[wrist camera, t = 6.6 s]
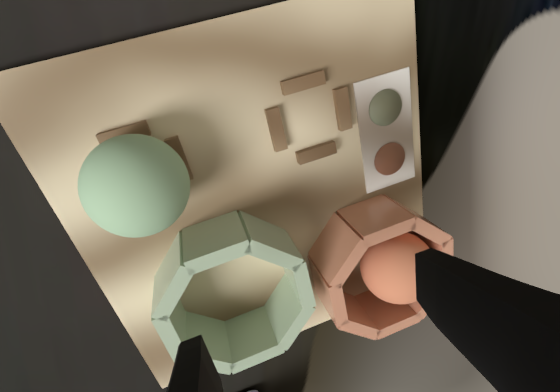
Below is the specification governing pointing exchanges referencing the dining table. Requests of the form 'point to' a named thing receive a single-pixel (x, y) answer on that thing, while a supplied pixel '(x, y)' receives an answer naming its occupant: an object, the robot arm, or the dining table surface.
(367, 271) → the terracotta ball
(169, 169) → the sage ball
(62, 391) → the dining table surface
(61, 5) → the dining table surface
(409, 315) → the terracotta tube
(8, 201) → the dining table surface
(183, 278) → the green octagonal ring
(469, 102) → the dining table surface
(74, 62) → the board
